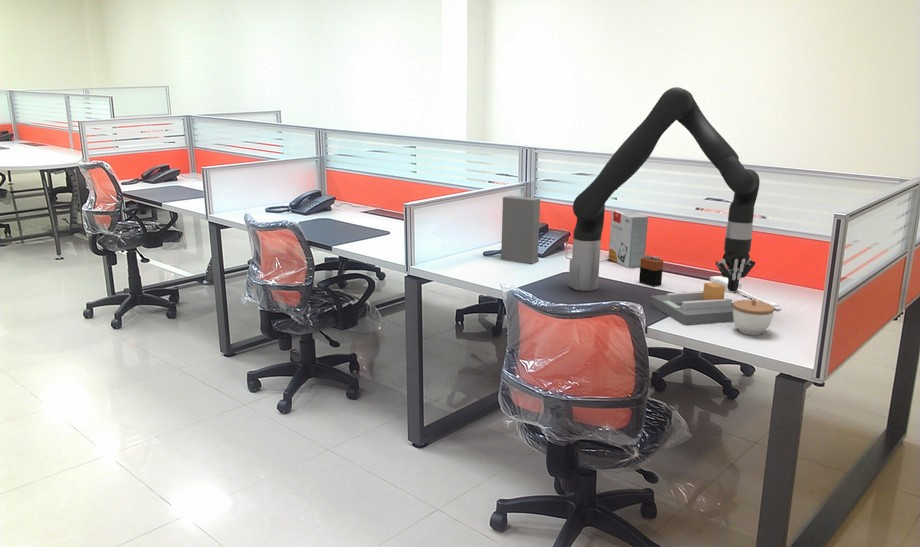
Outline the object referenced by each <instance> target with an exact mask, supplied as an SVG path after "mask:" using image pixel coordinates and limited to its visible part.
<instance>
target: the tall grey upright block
mask: <svg viewBox="0 0 920 547" xmlns="http://www.w3.org/2000/svg"><path fill="white" fill-rule="evenodd" d="M540 211H541V198H535V197H526V196H525V197H524V196H517V195H506V196H503V197H502V211H501V212H502V216H501V217H502V218H501V219H502V220H501V246H500V248H501V249H500V250H501V251H500V252H501V253H500V260H503V261H505V260H506V261H512V262H517V263H518V262H519V263H525V264H529V265H532V264H535V263H537V262H539V260H540V258H539V256H538V254H539V239H540V238H539V237H540V235H539V234H540Z"/></svg>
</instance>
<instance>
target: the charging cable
mask: <svg viewBox="0 0 920 547" xmlns="http://www.w3.org/2000/svg"><path fill="white" fill-rule="evenodd" d="M713 282H716V283H718V284H721V285H723V286H725V293H727V294H728V293H732V292H731V291H729V289H728V278H726V277H724V276H723V275H718V276H714V275H713V276H710V277H709V283H713ZM742 286H743V284H742V282H740V281H739V285H738V289H737V291H734V292H733V293H738V292H739V293H741V294H744V295H745V296H748V297H751V298H752V299H755V300H756V301H760V302H764V303H767V304H770V305H772V306H773V307H774V310H776V311H780V310H782V307H780V305H779V304H778V303H776V302H774V301H766V300H764V299H761V298H759V297H758V296H755V295H754V294H751V293H749V292H747V291H745V290H742Z"/></svg>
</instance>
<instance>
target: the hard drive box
mask: <svg viewBox="0 0 920 547" xmlns="http://www.w3.org/2000/svg"><path fill="white" fill-rule="evenodd" d="M648 223H649V216H648V215H644V214H642V213H639V212H636V211H633V210H630V209H614V210H613V209H612V210H611V216H610V230H609V232H610V233H609V245H608V249H609V250H608V259H609V260H611V261H613V262H615V263H617V264H619V265H621V266H623V267H625V268H627V269H630V268H640V264H641V258H643V257H646V246H647V237H648V235H647V234H648Z"/></svg>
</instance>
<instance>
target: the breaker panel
mask: <svg viewBox="0 0 920 547" xmlns="http://www.w3.org/2000/svg"><path fill="white" fill-rule="evenodd" d="M703 291H704V290H699V291H684V292H683V291H682V292H670V293H669V292H667V293H666V294H662V295H661V294H660V295H659V294H658V295H651V296H650V306H651V305H652V306H651V307H653V306H654V307H653V308H655V309H656V310H658V309H659V311H660V312H661V313H663V312H664V313H663V314H665V313H666V314H665V315H667V316H669V317H670V318H672V319H673V320H675V321H677V322H679V323H681V324H682V325H684V326H688V325H699V324H701V325H702V324H713V323H728V322H734V320H733V303H734V302H733V299H731V298H724V299H716V300H705V299H703Z"/></svg>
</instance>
